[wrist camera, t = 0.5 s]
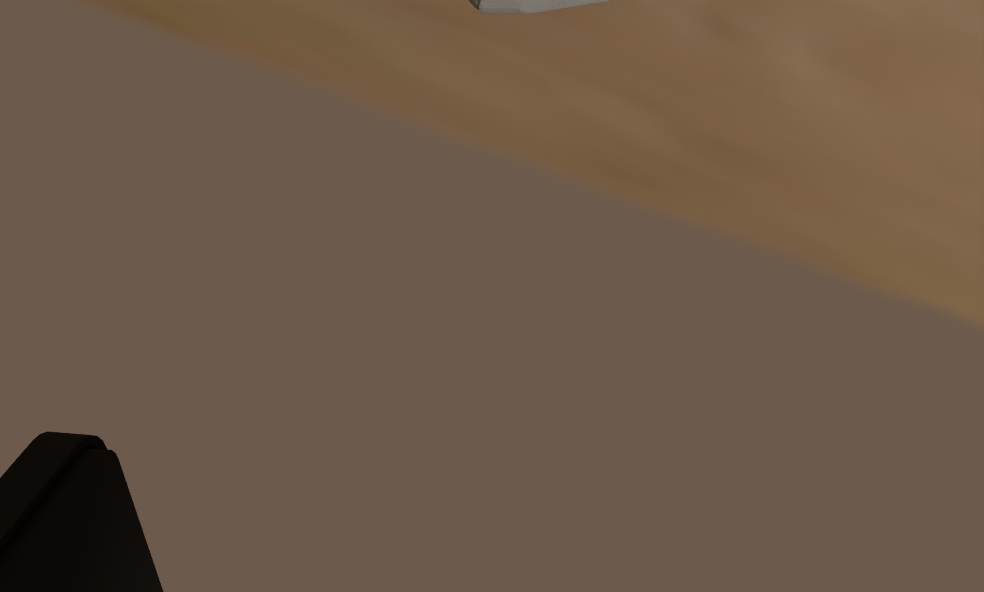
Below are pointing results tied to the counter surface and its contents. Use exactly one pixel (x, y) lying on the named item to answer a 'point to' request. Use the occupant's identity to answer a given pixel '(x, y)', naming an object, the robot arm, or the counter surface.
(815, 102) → the counter surface
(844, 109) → the counter surface
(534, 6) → the digital clock
